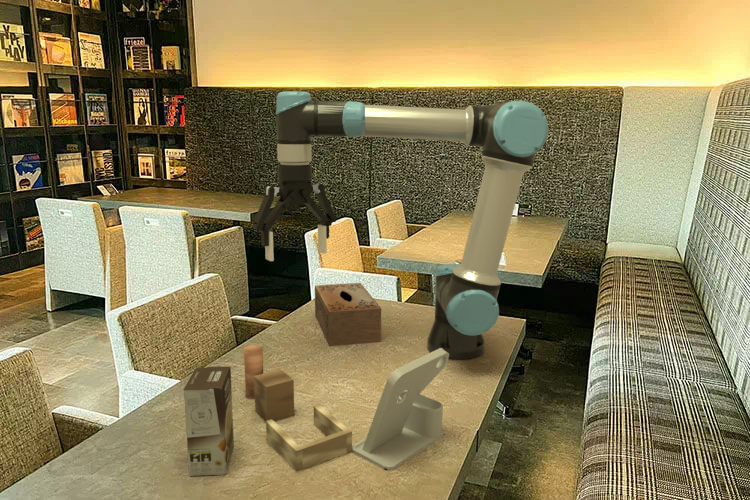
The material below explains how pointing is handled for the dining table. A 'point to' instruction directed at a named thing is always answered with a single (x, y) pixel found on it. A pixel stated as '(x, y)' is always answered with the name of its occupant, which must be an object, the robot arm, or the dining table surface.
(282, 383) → the block
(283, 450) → the wooden u-shaped frame
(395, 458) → the phone holder
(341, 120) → the robot arm
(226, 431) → the coffee box
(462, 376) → the dining table surface
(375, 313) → the tissue box cover
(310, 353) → the dining table surface
